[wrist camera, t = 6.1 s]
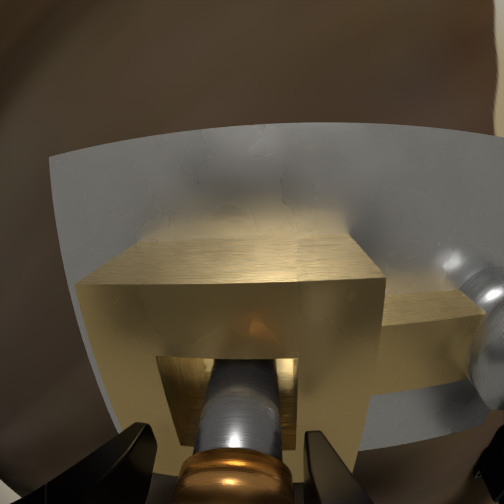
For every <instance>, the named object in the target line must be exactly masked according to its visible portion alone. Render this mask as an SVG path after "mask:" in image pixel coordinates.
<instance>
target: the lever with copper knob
mask: <svg viewBox="0 0 504 504" xmlns="http://www.w3.org/2000/svg"><path fill="white" fill-rule="evenodd" d="M172 504H294V493H293V480H292V473H291V471H290V469H289V468H288V467H287V466H286V465H285V464H284V463H283V456H282V437H281V420H280V403H279V387H278V372H277V359H214V360H213V365H212V369H211V374H210V378H209V382H208V387H207V391H206V396H205V400H204V404H203V409H202V413H201V418H200V422H199V427H198V431H197V436H196V440H195V445H194V449H193V454H192V456H190V457H188V458H187V459H186V460H185V461H184V462H183V463H182V465H181V468H180V472H179V476H178V481H177V485H176V489H175V493H174V497H173V501H172Z"/></svg>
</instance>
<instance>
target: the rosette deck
mask: <svg viewBox="0 0 504 504" xmlns="http://www.w3.org/2000/svg"><path fill="white" fill-rule="evenodd" d="M49 165H50V177H51V187H52V196H53V204H54V212H55V219H56V225H57V232H58V238H59V243H60V249H61V254H62V259H63V264H64V269H65V274H66V278H67V283H68V287H69V291H70V295H71V299H72V303H73V307H74V311H75V314H76V318H77V322H78V325H79V329H80V332H81V335H82V339H83V342H84V345H85V348H86V351H87V354H88V357H89V360H90V363H91V366H92V369H93V372H94V375H95V377H96V380H97V383H98V386H99V388H100V391H101V393H102V396H103V399H104V401H105V404H106V406H107V408H108V411H109V413H110V416H111V418H112V420H113V423H114V425H115V427H116V429H117V432H118V434H119V433H121V432H122V431H123V430H125V429H126V428H128V427H129V426H130V425H132V424H133V423H135V422H142V423H148V424H150V426H151V427H152V430H153V433H154V436H155V438H156V441H157V453H156V458H155V463H154V468H153V473H159V474H165V475H172V476H179V472H180V468H181V465H182V463H183V462H184V461H185V460H186V459H187V458H188V457H190V456H192V454H193V449H194V445H195V440H196V436H197V431H198V427H199V422H200V418H201V413H202V409H203V404H204V400H205V396H206V391H207V387H208V382H209V378H210V374H211V369H212V365H213V360H214V359H277V372H278V387H279V403H280V420H281V437H282V456H283V463H284V464H285V465H286V466H287V467H288V468H289V469H290V471H291V473H292V480H293V483H297V482H304V473H303V449H304V435H305V432H306V431H314V430H320V431H322V433H323V434H324V435H325V437H326V438H327V440H328V441H329V442H330V444H331V445H332V447H333V448H334V449H335V451H336V452H337V454H338V455H339V456H340V458H341V459H342V461H343V462H344V463H345V465H346V466H347V467H348V469H349V470H350V472H351V473H352V472H353V468H354V465H355V461H356V457H357V453H358V451H363V450H370V449H377V448H384V447H390V446H396V445H401V444H407V443H412V442H417V441H421V440H426V439H430V438H435V437H439V436H443V435H447V434H451V433H455V432H458V431H462V430H465V429H469V428H472V427H475V426H479V425H482V424H483V423H484V421H485V419H486V417H487V415H488V413H489V411H490V408H491V409H493V410H504V138H502V137H497V136H491V135H485V134H479V133H472V132H465V131H457V130H449V129H440V128H430V127H419V126H407V125H392V124H372V123H282V124H261V125H246V126H233V127H221V128H211V129H201V130H192V131H184V132H176V133H169V134H162V135H155V136H149V137H142V138H136V139H130V140H125V141H119V142H114V143H109V144H104V145H99V146H94V147H89V148H85V149H80V150H76V151H71V152H67V153H63V154H59V155H55V156H51V157H49Z"/></svg>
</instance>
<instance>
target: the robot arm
mask: <svg viewBox="0 0 504 504" xmlns="http://www.w3.org/2000/svg"><path fill="white" fill-rule="evenodd" d="M156 453H157V441H156V438H155V436H154V433H153V430H152V427H151V426H150V424H148V423H142V422H135V423H133V424H132V425H130V426H129V427H128V428H126V429H125V430H123V431H122V432H121V433H119V434H118V435H116V436H115V437H114V438H112V439H111V440H110V441H108V442H107V443H105V444H104V445H102V446H101V447H100V448H98V449H97V450H95V451H94V452H92V453H91V454H90V455H88V456H87V457H85V458H84V459H82V460H81V461H79V462H78V463H76V464H75V465H73V466H72V467H71V468H69V469H68V470H66V471H65V472H63V473H62V474H60V475H58V476H57V477H55V478H54V479H52V480H51V481H49V482H48V483H47V485H46V484H44V485H43V486H41V487H40V488H38V489H37V490H35V491H33V492H32V493H30V494H28V495H26V496H25V497H23V498H21V499H19V500H17V501H15V502H13V503H11V504H145V501H146V498H147V495H148V492H149V487H150V483H151V478H152V473H153V468H154V463H155V458H156ZM303 473H304V504H374V502H373V501H372V500H371V499H370V497H369V496H368V495H367V493H366V492H365V491H364V489H363V488H362V486H361V485H360V484H359V482H358V481H357V480H356V478H355V477H354V476H353V474H352V473H351V472H350V470H349V469H348V467H347V466H346V465H345V463H344V462H343V461H342V459H341V458H340V456H339V455H338V454H337V452H336V451H335V449H334V448H333V447H332V445H331V444H330V442H329V441H328V440H327V438H326V437H325V435H324V434H323V433H322V431H320V430H314V431H306V432H305V435H304V449H303ZM473 475H474V477H475V478H478V477H481V476H482V477H483V480H484V482H485V484H486V486H487V488H488V490H489V493H490V495H491V497H492V499H493V501H494V502H495V503H496V502H498V503H499V504H504V426H503V427H502V428H501V429H500V430H499V432H498V433H497V435H496V437H495V439H494V441H493V442H492V444H491V446H490V448H489V449H488V451H487V453H486V454H485V456H484V458H483V459H482V461H481V462H480V464H479V466H478V467H477V469H476V470H475V472H474V473H473Z"/></svg>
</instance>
